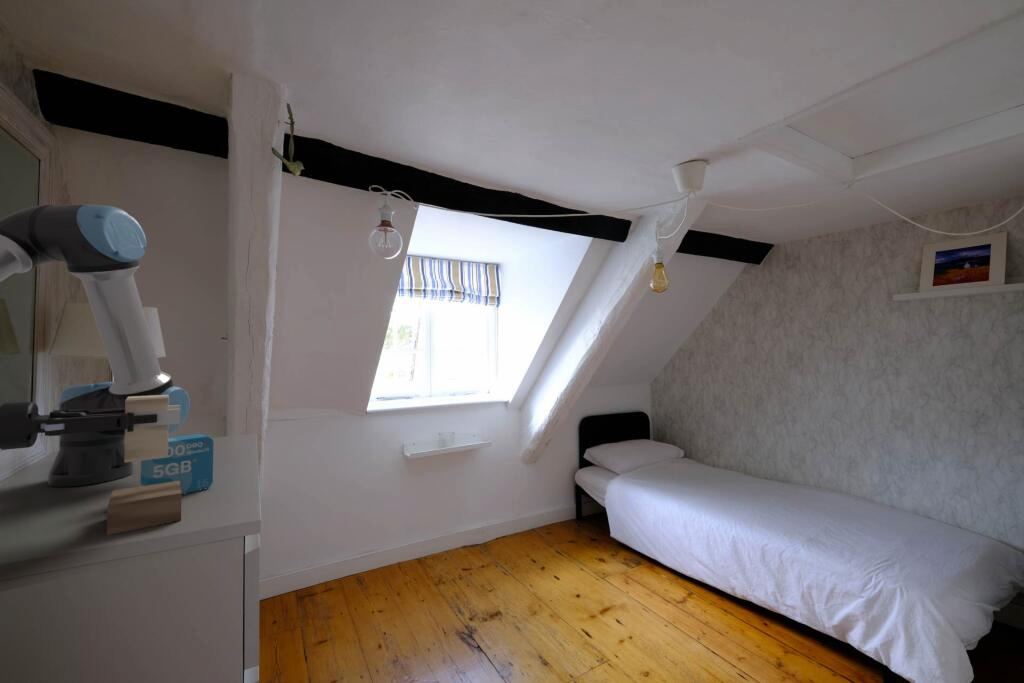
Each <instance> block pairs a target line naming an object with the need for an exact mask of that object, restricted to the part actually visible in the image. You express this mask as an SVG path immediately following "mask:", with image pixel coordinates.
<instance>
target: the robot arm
mask: <svg viewBox="0 0 1024 683" xmlns="http://www.w3.org/2000/svg"><path fill="white" fill-rule="evenodd" d="M146 248H147V238H146V235H145V231H144V230H143V227H142V226H141V224H140V223H139V222H138V221H137V219H136V218H135V217H133V216H132V215H130V214H128V212H126V211H125V210H124V209H121V208H119V207H116V206H111V205H103V204H101V205H100V204H61V205H60V204H41V205H40V204H39V205H35V206H30V207H27V208H23V209H21V210H18V211H15V212H13V213H11V214H9V215H7V216H4V217H2V218H0V283H1V282H3V281H4V280H6V279H7V278H8V277H10V276H12V275H14V274H24V273H27V272H30V270H32V269H33V268H35V267H37V266H40V265H42V264H47V263H51V262H52V263H54V262H65V265H66V268H67V271H68V273H69V274H70V275H72V276H75V277H76V278H78V279H80V280H81V282H82V285H83V288H84V290H85V294H86V297H87V301H88V303H89V307H90V309H91V312H92V315H93V318H94V321H95V325H96V328H97V331H98V334H99V336H100V339H101V342H102V345H103V348H104V351H105V355H106V359H107V361H108V364H109V366H110V370H111V373H112V375H113V376H112V377H113V379H114V381H107V382H98V383H97V382H96V383H87V384H79V385H78V384H77V385H72V386H67V387H66V388H64V389H62V390H61V394H60V402H59V404H58V406H59V408H58V409H54V410H52V411H50V412H49V414H41V415H40V414H39V408H38V407H39V406H38V405H37V403H36V402H34V401H18V402H15V401H14V402H4V403H3V404H1V405H0V450H2V451H4V450H5V451H6V450H17V449H25V448H26V449H27V448H31V447H32V446H34V445H35V444H36V441H37V439H38V434H44V436H45V437H46V436H48V437H55V436H56V437H57V436H58V437H59V446H58V448H59V449H58V451H57V454H56V456H55V458H54V461H53V463H52V465H51V467H50V469H49V472H48V474H47V486H50V487H61V488H64V487H77V486H87V485H94V484H99V483H105V481H106V482H110V481H113V480H118V479H121V478H125V477H127V476H130V475H132V474H134V467H135V466H134V465H135V464H134V461H133V462H125V463H124V460H125V429H127V432H132V431H133V427H143V426H156V425H168V424H169V425H168V435H169V434H172V433H173V432H175V431H177V430H178V429H179V428H180V427H181V426H182V425H183V424H184V422H185V421H186V419H187V416H188V415H189V412H190V409H191V408H190V407H191V406H190V405H191V400H190V395H189V393H188V392H187V390H186V389H183V388H182V387H180V386H174V384H173V380H172V377H171V375H170V374H169V373H167V372H164V371H162V370H161V367H160V362H159V359H158V356H157V353H156V349H155V346H154V343H153V339H152V335H151V331H150V329H149V328H150V327H149V326H148V321H147V318H146V315H145V311H144V307H143V305H142V300H141V298H140V294H139V291H138V287H137V283H136V280H135V277H134V274H135V273H136V271H137V270H138V269H139V268H140V263H139V260H140V259H141V258H142V257H143V256H144V255H145V253H146V250H145V249H146ZM151 395H169V409H167V410H151V411H135V415H134V413H131V412H129V413H125V400H126V399H127V398H128V397H131V396H151Z"/></svg>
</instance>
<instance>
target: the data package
mask: <svg viewBox="0 0 1024 683" xmlns="http://www.w3.org/2000/svg"><path fill="white" fill-rule="evenodd" d="M173 481H180V486H181V493H182V494H183V493H187V494H189V493H188V492H192V493H194V492H193V491H196V492H198V491H197V490H200V489H205V488H207V489H209V488H210V487H212V485H213V482H214V439H213V438H212V437H211V436H208V435H205V434H201V433H198V434H189V435H183V436H174V437H168V457H167V458H158V459H150V460H142V461H140V486H146V485H153V484H160V483H167V482H173ZM205 490H206V489H205ZM183 495H184V494H183Z"/></svg>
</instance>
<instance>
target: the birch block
mask: <svg viewBox="0 0 1024 683" xmlns="http://www.w3.org/2000/svg"><path fill="white" fill-rule="evenodd" d="M167 409H169V395H151V396H131V397H128V398H127V399H126V400H125V413H129V412H131V413H134V415H135V411H151V410H167ZM168 425H169V424H168ZM168 425H156V426H143V427H133V431H132V432H127V429H125V460H124V463H125V462H133V463H134V462H139V461H140V462H141V461H142V460H150V459H158V458H167V457H168V438H169V434H168Z"/></svg>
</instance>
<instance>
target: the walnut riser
mask: <svg viewBox="0 0 1024 683" xmlns="http://www.w3.org/2000/svg"><path fill="white" fill-rule="evenodd" d="M179 520H181V521H182V493H181V486H180V481H173V482H167V483H160V484H153V485H146V486H141V485H140V486H134V487H128V488H120V489H113V490H112V492H111V495H110V498H109V501H108V503H107V520H106V521H107V524H106V525H107V527H106V530H107V531H106V535H107V536H108V535H113V534H120V533H123V532H129V531H134V530H139V529H145V528H150V526H151V527H155V526H160V525H159V524H161V525H165V524H164V523H166V524H169V523H168V522H171V523H174V522H173V521H176V522H180V521H179Z"/></svg>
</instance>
